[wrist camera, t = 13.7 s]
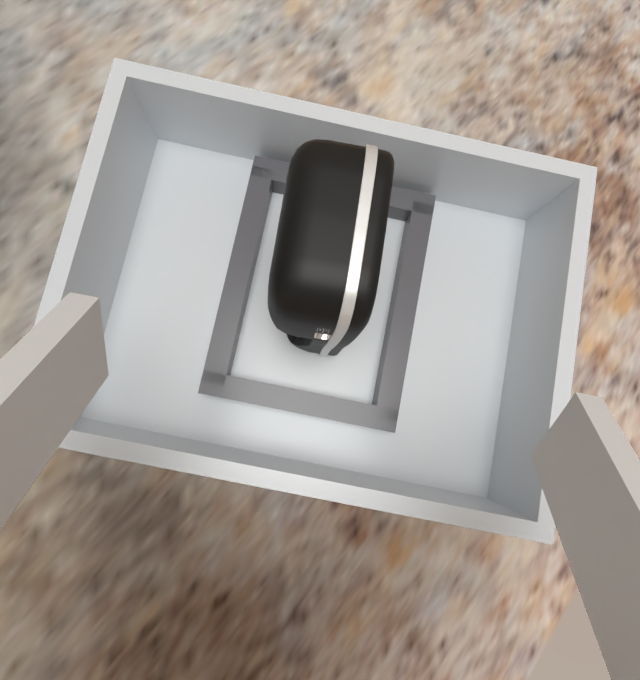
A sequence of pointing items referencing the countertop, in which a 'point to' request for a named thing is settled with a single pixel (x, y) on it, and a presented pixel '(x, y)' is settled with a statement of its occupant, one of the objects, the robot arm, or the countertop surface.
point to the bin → (371, 344)
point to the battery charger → (329, 243)
